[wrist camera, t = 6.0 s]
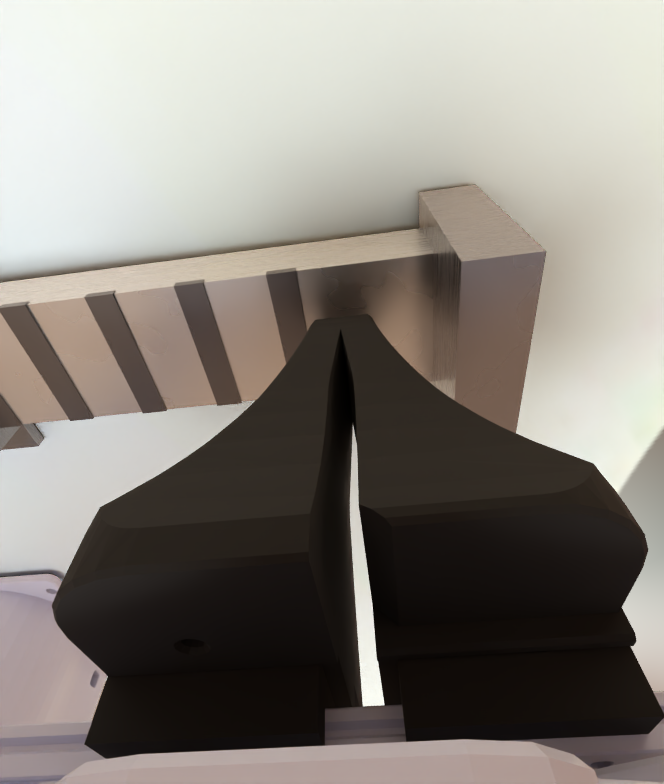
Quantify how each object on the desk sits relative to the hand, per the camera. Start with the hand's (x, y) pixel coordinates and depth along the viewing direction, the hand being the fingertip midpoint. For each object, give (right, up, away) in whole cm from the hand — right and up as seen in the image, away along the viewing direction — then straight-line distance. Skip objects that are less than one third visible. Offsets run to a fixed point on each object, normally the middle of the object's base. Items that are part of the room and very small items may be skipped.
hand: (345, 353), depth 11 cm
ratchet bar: (-6, +1, +3) cm, 7 cm away
